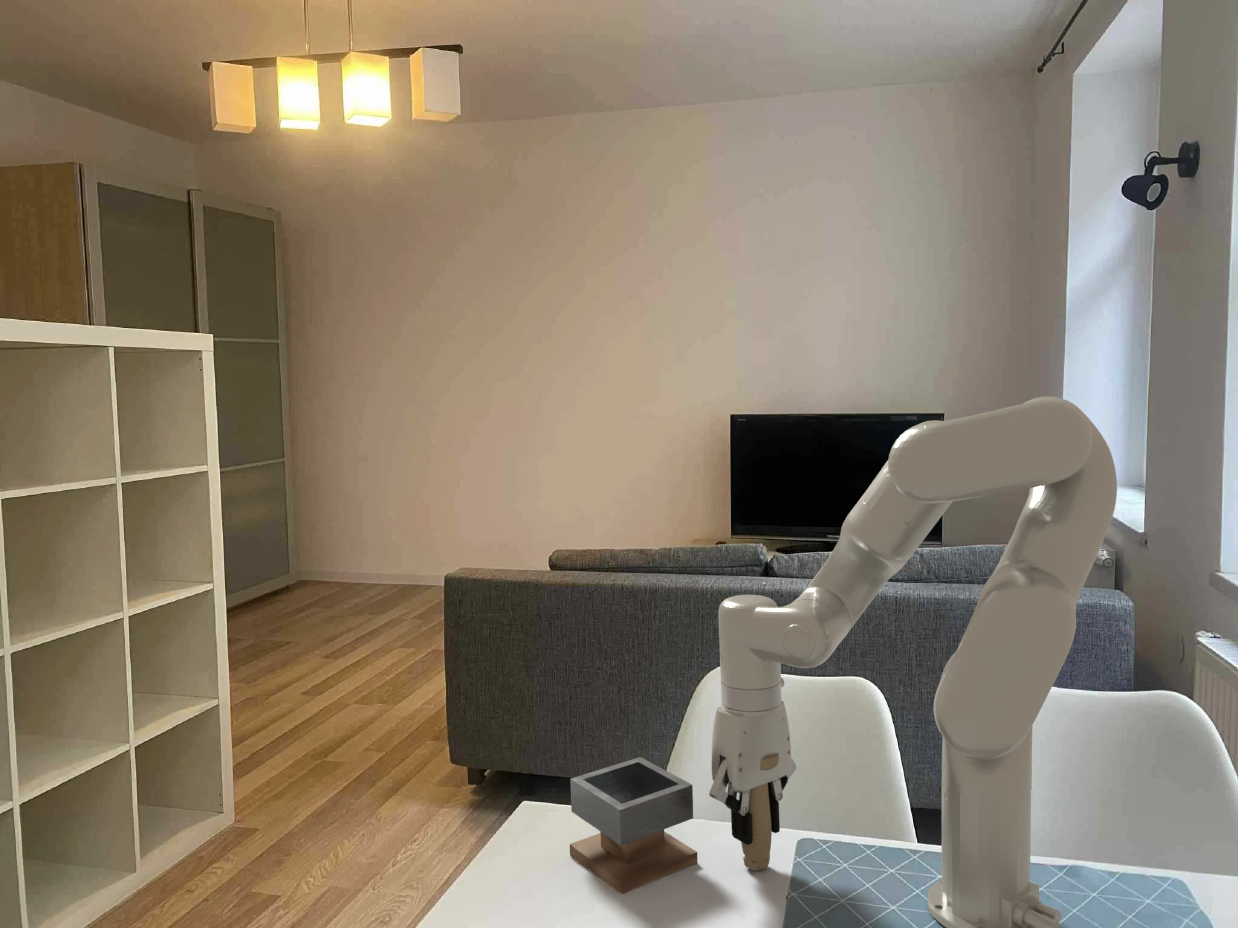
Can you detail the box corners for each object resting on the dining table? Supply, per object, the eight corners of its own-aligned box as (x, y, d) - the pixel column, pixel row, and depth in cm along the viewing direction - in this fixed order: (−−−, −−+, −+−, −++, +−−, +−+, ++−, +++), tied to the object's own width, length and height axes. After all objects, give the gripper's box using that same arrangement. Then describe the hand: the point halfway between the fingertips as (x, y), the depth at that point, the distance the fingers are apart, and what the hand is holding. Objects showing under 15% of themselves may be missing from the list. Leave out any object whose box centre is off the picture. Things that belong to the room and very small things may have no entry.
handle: (779, 878, 116) (775, 761, 115) (728, 872, 118) (724, 757, 117) (784, 858, 121) (781, 746, 120) (735, 853, 123) (731, 742, 122)
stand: (697, 862, 121) (696, 818, 120) (621, 893, 114) (620, 846, 114) (642, 827, 131) (641, 786, 130) (569, 854, 124) (568, 811, 124)
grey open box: (693, 818, 121) (692, 784, 120) (620, 845, 114) (619, 809, 114) (641, 788, 130) (640, 756, 130) (571, 811, 123) (570, 778, 123)
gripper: (778, 673, 125) (782, 805, 127) (680, 702, 116) (686, 844, 118) (819, 687, 119) (823, 825, 121) (720, 718, 110) (725, 867, 111)
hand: (755, 832), depth 119 cm, fingers closed on handle, 4 cm apart
